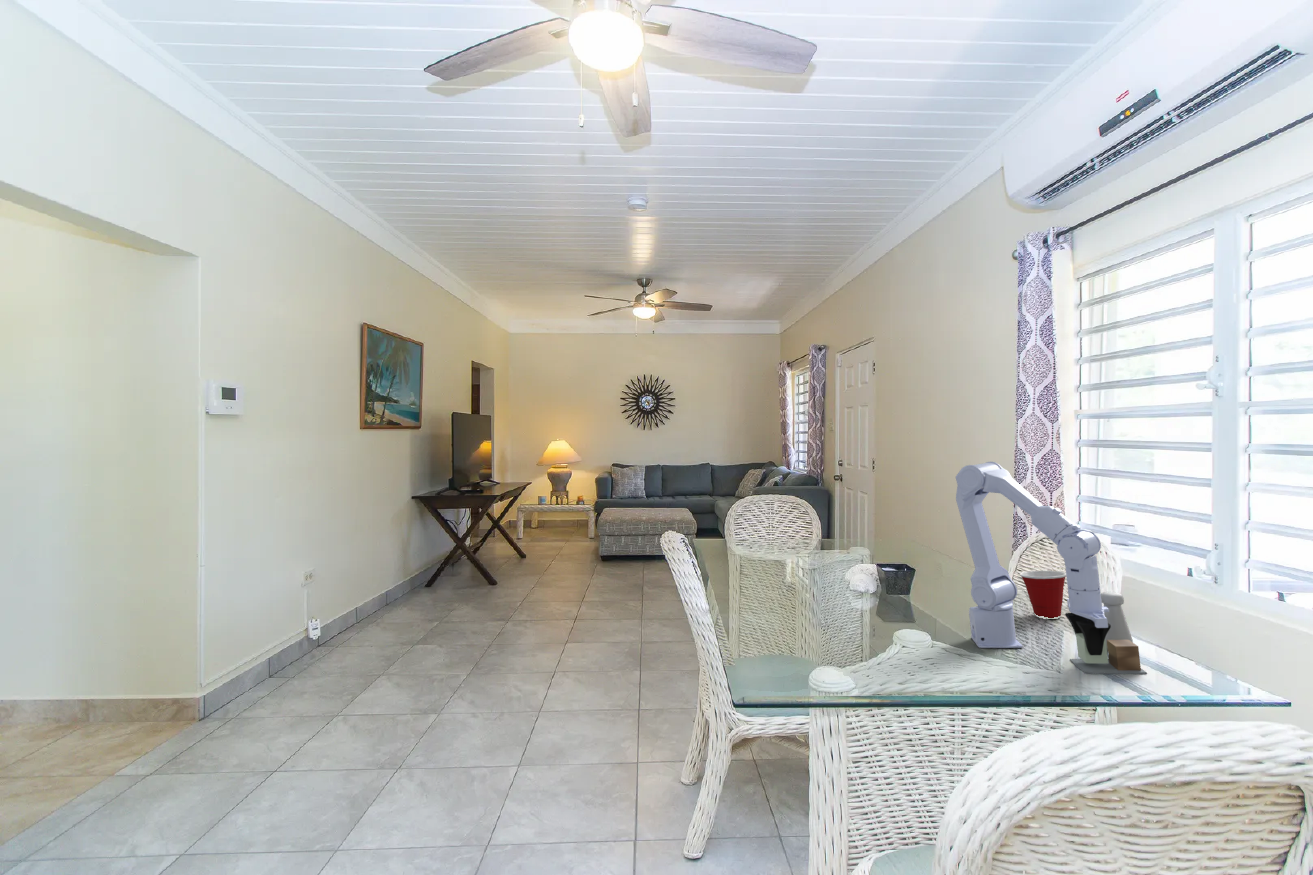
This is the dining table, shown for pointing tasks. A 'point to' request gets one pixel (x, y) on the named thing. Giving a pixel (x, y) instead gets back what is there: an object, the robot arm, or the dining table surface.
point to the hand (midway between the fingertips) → (1090, 650)
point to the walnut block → (1123, 655)
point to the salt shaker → (1115, 617)
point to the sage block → (1085, 654)
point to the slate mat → (1102, 668)
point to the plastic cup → (1045, 591)
